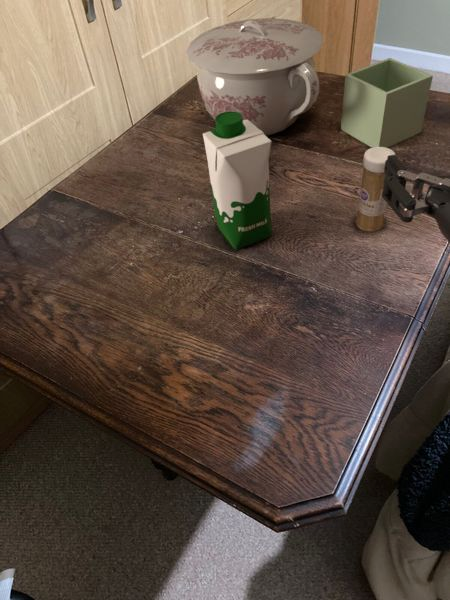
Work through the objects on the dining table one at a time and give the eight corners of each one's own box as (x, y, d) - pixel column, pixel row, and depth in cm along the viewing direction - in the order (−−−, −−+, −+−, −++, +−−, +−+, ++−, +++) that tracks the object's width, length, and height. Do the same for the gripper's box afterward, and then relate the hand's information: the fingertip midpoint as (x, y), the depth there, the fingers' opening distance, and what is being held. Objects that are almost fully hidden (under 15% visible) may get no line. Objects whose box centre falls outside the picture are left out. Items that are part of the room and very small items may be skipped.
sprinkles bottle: (349, 225, 83) (357, 154, 74) (366, 212, 85) (376, 142, 75) (372, 237, 81) (384, 165, 71) (389, 223, 83) (402, 151, 73)
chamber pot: (201, 97, 121) (189, 4, 106) (314, 89, 119) (318, -8, 104) (192, 159, 102) (175, 56, 87) (326, 151, 100) (332, 43, 85)
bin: (381, 113, 108) (389, 57, 99) (420, 133, 101) (433, 75, 92) (340, 130, 105) (345, 74, 96) (378, 152, 98) (386, 94, 89)
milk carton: (255, 210, 89) (248, 103, 74) (279, 238, 83) (277, 127, 68) (210, 227, 87) (194, 119, 72) (233, 256, 81) (220, 146, 66)
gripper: (575, 192, 48) (484, 116, 59) (436, 219, 47) (370, 137, 58) (546, 250, 53) (468, 171, 64) (420, 275, 53) (363, 191, 64)
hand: (422, 155), depth 61 cm, fingers open, 8 cm apart
